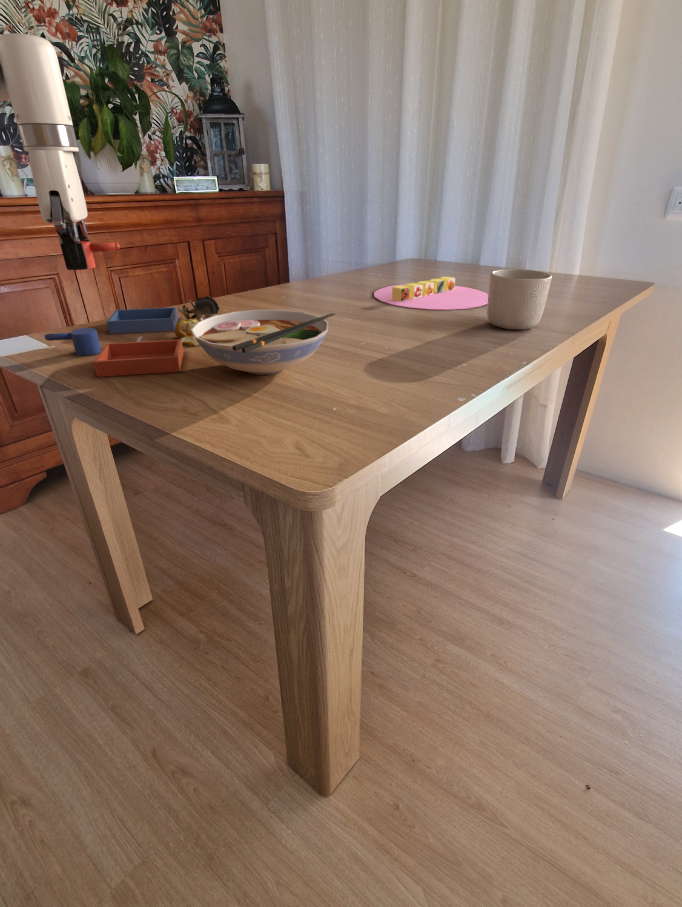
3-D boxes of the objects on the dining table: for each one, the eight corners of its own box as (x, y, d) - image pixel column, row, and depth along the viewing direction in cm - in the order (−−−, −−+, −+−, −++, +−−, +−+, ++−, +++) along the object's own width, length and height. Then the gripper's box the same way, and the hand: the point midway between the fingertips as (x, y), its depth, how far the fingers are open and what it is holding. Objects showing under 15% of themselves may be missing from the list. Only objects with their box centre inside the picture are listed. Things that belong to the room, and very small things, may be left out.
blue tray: (109, 334, 104) (106, 321, 103) (118, 321, 113) (115, 309, 111) (174, 330, 106) (172, 318, 105) (178, 318, 115) (176, 307, 114)
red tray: (97, 376, 82) (93, 361, 81) (109, 357, 91) (106, 343, 90) (179, 371, 85) (176, 356, 83) (183, 352, 93) (181, 339, 92)
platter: (349, 294, 138) (349, 281, 136) (424, 279, 156) (425, 268, 154) (441, 316, 117) (442, 302, 115) (514, 296, 135) (517, 284, 134)
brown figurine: (179, 326, 105) (220, 318, 104) (174, 293, 106) (215, 285, 105) (193, 336, 113) (231, 329, 112) (189, 306, 113) (227, 298, 112)
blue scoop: (103, 347, 96) (98, 327, 94) (98, 355, 92) (93, 333, 90) (53, 350, 94) (47, 329, 92) (46, 358, 91) (39, 336, 89)
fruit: (187, 347, 96) (184, 329, 94) (164, 339, 101) (161, 321, 99) (222, 338, 101) (220, 320, 99) (198, 330, 106) (196, 313, 104)
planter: (547, 323, 112) (558, 272, 107) (532, 336, 103) (543, 281, 98) (493, 315, 118) (501, 267, 113) (475, 327, 109) (482, 275, 104)
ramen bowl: (262, 339, 101) (259, 298, 97) (357, 360, 90) (358, 314, 86) (162, 376, 83) (153, 327, 79) (267, 407, 72) (263, 353, 68)
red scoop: (64, 270, 82) (57, 244, 80) (71, 266, 86) (64, 241, 84) (121, 268, 84) (116, 242, 82) (125, 264, 88) (120, 239, 86)
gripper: (39, 143, 82) (70, 260, 91) (2, 137, 68) (42, 276, 77) (88, 143, 83) (113, 258, 92) (61, 137, 69) (94, 274, 78)
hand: (81, 265), depth 85 cm, fingers closed on red scoop, 4 cm apart
